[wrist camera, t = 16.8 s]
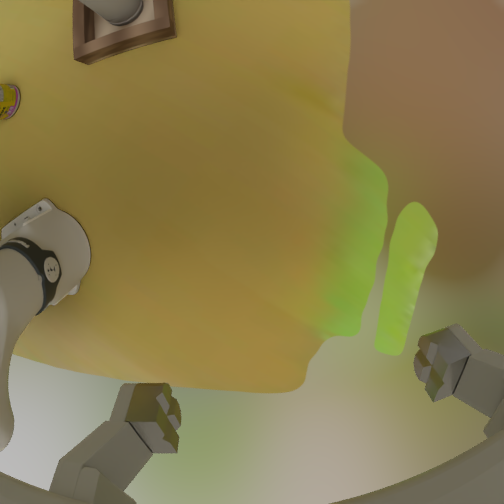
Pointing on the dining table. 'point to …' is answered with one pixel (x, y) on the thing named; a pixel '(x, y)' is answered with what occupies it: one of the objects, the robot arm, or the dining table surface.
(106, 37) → the square wooden tray
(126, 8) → the travel mug
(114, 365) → the dining table surface
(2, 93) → the supplement bottle
